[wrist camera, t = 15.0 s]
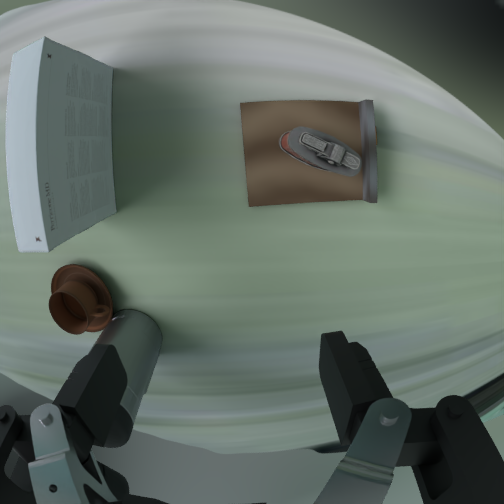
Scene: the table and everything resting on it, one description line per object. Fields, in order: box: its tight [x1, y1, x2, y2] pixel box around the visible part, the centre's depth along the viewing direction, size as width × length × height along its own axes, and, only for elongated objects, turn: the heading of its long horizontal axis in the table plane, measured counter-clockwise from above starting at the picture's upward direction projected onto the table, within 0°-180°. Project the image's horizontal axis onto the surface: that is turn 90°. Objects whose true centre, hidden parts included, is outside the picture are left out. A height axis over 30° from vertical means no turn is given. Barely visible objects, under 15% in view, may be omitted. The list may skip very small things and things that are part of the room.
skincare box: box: [6, 37, 117, 252], centre depth 25 cm, size 21×6×16 cm, turn 0°
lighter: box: [279, 126, 362, 177], centre depth 28 cm, size 8×3×10 cm, turn 68°
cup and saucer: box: [49, 264, 113, 335], centre depth 37 cm, size 12×12×6 cm
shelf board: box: [240, 100, 377, 207], centre depth 33 cm, size 13×17×4 cm
